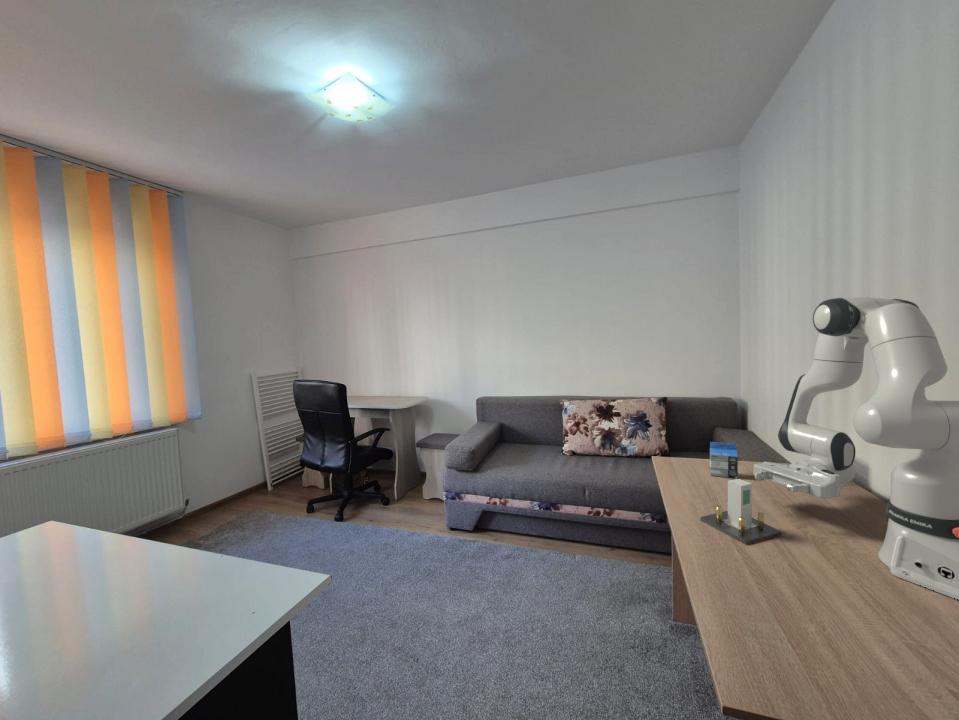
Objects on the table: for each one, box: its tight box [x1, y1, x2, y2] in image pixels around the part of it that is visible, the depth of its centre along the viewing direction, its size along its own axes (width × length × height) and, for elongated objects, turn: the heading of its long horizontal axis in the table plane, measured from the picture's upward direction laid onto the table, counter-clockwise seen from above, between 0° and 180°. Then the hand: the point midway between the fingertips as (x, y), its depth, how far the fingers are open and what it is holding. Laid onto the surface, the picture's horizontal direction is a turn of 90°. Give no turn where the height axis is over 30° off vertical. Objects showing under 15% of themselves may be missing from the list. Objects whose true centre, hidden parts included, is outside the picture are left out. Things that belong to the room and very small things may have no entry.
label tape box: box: [709, 441, 739, 479], centre depth 145 cm, size 9×4×12 cm, turn 61°
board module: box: [727, 478, 753, 527], centre depth 108 cm, size 4×4×12 cm
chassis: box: [700, 505, 783, 545], centre depth 109 cm, size 14×13×5 cm
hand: (772, 482), depth 112 cm, fingers open, 8 cm apart
